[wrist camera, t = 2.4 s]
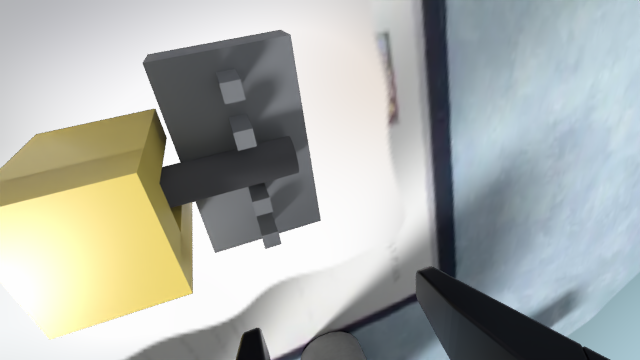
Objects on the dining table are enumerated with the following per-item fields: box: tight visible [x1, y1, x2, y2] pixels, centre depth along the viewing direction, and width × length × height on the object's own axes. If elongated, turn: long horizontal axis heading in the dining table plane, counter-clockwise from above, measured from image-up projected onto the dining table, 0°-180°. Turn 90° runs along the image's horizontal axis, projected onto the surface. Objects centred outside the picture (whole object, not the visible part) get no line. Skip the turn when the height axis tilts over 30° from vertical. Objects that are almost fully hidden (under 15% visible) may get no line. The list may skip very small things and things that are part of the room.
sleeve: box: [0, 109, 193, 339], centre depth 14 cm, size 5×5×7 cm
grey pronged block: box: [143, 30, 320, 253], centre depth 17 cm, size 10×6×4 cm, turn 8°
